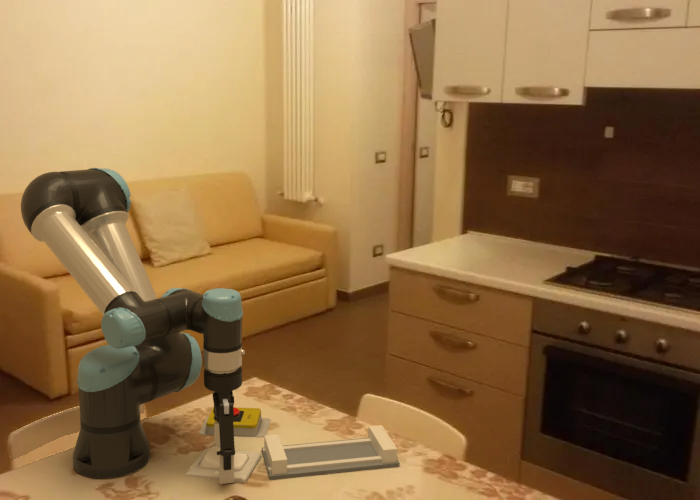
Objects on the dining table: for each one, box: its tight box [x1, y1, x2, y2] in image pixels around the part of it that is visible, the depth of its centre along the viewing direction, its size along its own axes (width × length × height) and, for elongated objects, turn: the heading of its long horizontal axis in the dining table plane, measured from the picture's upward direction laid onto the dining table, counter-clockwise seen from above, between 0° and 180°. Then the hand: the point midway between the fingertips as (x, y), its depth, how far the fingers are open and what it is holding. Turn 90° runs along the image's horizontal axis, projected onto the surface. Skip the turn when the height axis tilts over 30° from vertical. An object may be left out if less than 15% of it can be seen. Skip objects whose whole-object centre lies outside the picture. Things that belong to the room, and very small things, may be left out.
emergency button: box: [199, 406, 271, 438], centre depth 169 cm, size 9×4×15 cm
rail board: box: [261, 424, 400, 481], centre depth 156 cm, size 27×12×4 cm, turn 104°
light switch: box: [184, 445, 262, 484], centre depth 152 cm, size 11×4×13 cm
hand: (223, 466), depth 152 cm, fingers open, 12 cm apart
